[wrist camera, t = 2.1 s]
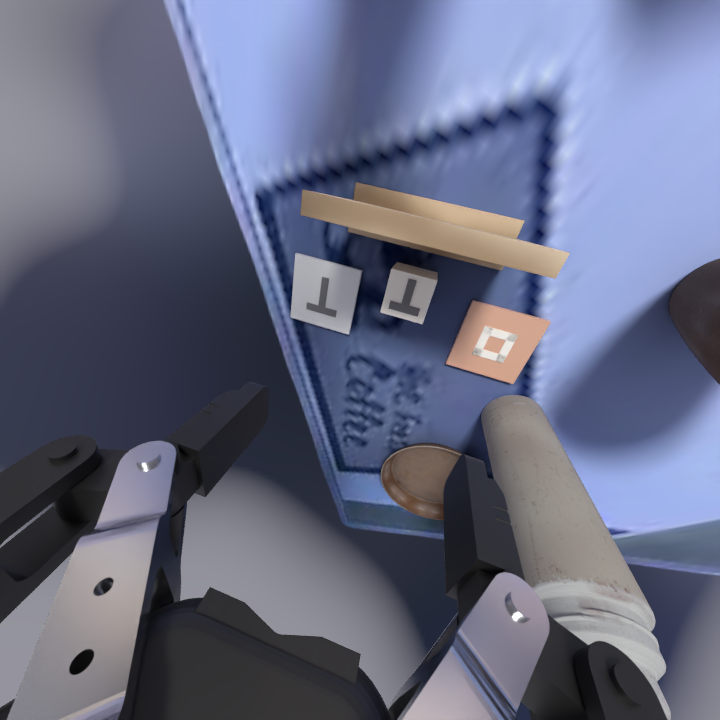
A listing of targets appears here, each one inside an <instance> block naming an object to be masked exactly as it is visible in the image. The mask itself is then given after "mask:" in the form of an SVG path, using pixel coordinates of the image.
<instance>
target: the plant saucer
mask: <svg viewBox="0 0 720 720" xmlns="http://www.w3.org/2000/svg"><path fill="white" fill-rule="evenodd" d="M462 454H463V453H461V452H459V451H457V450H455V449H453V448H450V447H448V446H444V445H440V444H435V443H419V444H414V445H410V446H407V447H405V448H402V449H400V450H398V451H397V452H395V453H394V454H392V455H391V456H390V457H389V458H388V459H387V460H386V461H385V463H384V464H383V466H382V469H381V482H382V485H383V487H384V489H385V491H386V493H387V494H388V495H389V496H390V497H391V499H392V500H393V501H394V502H396V503H397V504H398V505H399V506H401V507H402V508H404V509H406V510H408V511H409V512H412V513H414V514H416V515H419V516H422V517H425V518H429V519H435V520H444V503H443V492H444V486H445V482H446V480H447V478H448V476H449V474H450V473H451V471H452V469H453V467H454V466H455V464H456V462H457V461H458V459H459V457H460V456H461V455H462Z"/></svg>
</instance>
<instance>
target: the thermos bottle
mask: <svg viewBox="0 0 720 720" xmlns="http://www.w3.org/2000/svg"><path fill="white" fill-rule="evenodd" d="M481 421H482V426H483V431H484V436H485V440H486V444H487V449H488V454H489V459H490V463H491V468H492V472H493V477H494V480H495V481H496V482H497V484H498V486H499V487H500V489H501V491H502V492H503V494H504V496H505V500H506V504H507V509H508V511H507V513H509V517H510V521H511V523H510V525H511V526H512V529H513V533H514V537H515V542H516V546H517V550H518V554H519V558H520V562H521V566H522V570H523V574H524V578H525V581H526V583H527V584H528V585H529V586H530V587H531V588H532V589H533V590H534V591H535V592H536V594H537V595H538V597H539V598H540V600H541V601H542V603H543V605H544V607H545V610H546V612H547V614H548V615H549V616H551V617H552V618H553V619H554V620H555V621H557V622H558V623H559V624H561V625H562V626H563V627H565V628H566V629H567V630H569V631H570V632H571V633H573V634H574V635H575V636H577V637H578V638H579V639H581V640H582V641H584V642H585V643H586V644H588V645H589V644H591V643H593V642H595V641H604V642H607V643H610V644H611V645H613V646H615V647H616V648H618V649H619V650H621V651H622V652H623V653H624V654H626V655H627V656H628V657H629V658H630V659H631V660H632V661H633V662H634V663H635V664H636V666H637V667H638V668H639V669H640V670H641V672H642V673H643V674H644V675H645V677H646V678H647V680H648V681H649V683H650V684H651V686H652V688H653V689H654V691H655V693H656V695H657V697H658V699H659V701H660V703H661V706H662V708H663V710H664V713H665V715H666V717H667V720H671V719H670V717H671V713H670V710H669V707H668V705H667V703H666V701H665V698H664V696H663V694H662V692H661V690H660V688H659V686H658V683H657V681H658V680H659V679H660V678H661V677H662V676H663V674H664V673H665V671H666V665H665V662H664V659H663V657H662V655H661V653H660V651H659V645H658V642H657V639H656V638H655V637H654V635H653V634H652V633H651V631H652V629H653V628H654V625H655V618H654V614H653V612H652V610H651V608H650V606H649V604H648V602H647V601H646V599H645V597H644V595H643V593H642V591H641V589H640V588H639V586H638V584H637V582H636V581H635V578H634V577H633V575H632V573H631V571H630V569H629V568H628V566H627V564H626V562H625V560H624V558H623V557H622V555H621V553H620V551H619V549H618V547H617V546H616V544H615V542H614V540H613V538H612V536H611V535H610V533H609V531H608V529H607V527H606V525H605V524H604V522H603V520H602V518H601V516H600V514H599V513H598V511H597V509H596V507H595V505H594V503H593V502H592V500H591V498H590V496H589V494H588V492H587V491H586V489H585V487H584V485H583V483H582V481H581V480H580V478H579V476H578V474H577V472H576V470H575V469H574V467H573V465H572V463H571V461H570V459H569V458H568V456H567V454H566V452H565V450H564V448H563V447H562V445H561V443H560V441H559V439H558V437H557V436H556V434H555V432H554V430H553V428H552V427H551V425H550V423H549V421H548V419H547V417H546V416H545V414H544V412H543V410H542V408H541V407H540V406H539V404H537V403H536V402H535V401H534V400H532V399H530V398H527V397H525V396H520V395H507V396H502V397H499V398H496V399H494V400H493V401H491V402H490V403H488V404H487V405H486V406H485V408H484V410H483V412H482V414H481Z"/></svg>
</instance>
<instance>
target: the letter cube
mask: <svg viewBox="0 0 720 720" xmlns="http://www.w3.org/2000/svg"><path fill="white" fill-rule="evenodd" d="M437 281H438V272H434V271H430V270H426V269H422V268H419V267H415V266H411V265H407V264H403V263H399V262H397V263H396V264H395V265H394V266H393V267H392V268H391V272H390V276H389V280H388V284H387V288H386V292H385V296H384V300H383V304H382V307H381V311H380V312H381V313H384V314H388V315H391V316H395V317H398V318H402V319H405V320H409V321H412V322H416V323H419V324H423V322H424V319H425V316H426V313H427V310H428V307H429V304H430V301H431V299H432V296H433V293H434V290H435V287H436V284H437Z"/></svg>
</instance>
